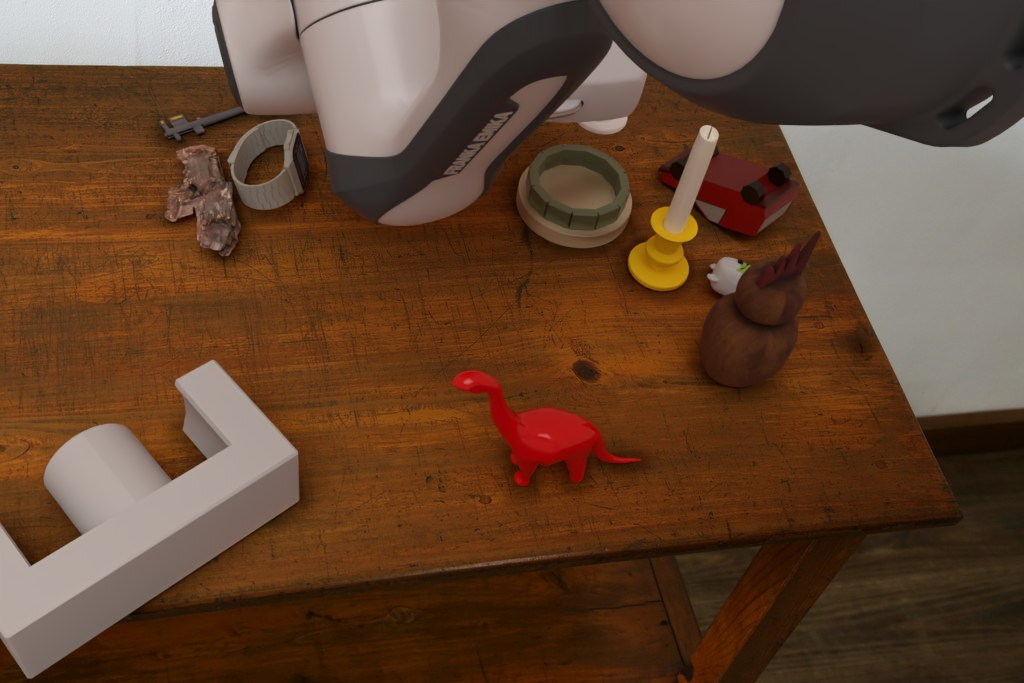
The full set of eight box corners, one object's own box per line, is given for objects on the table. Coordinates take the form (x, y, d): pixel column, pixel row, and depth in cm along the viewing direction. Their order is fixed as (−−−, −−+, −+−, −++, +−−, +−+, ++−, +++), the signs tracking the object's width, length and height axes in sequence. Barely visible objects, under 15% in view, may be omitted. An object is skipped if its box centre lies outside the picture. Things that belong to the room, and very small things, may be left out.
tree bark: (221, 154, 88) (219, 131, 86) (249, 259, 82) (247, 237, 80) (152, 162, 86) (148, 139, 84) (175, 270, 80) (171, 248, 78)
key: (281, 77, 94) (299, 99, 92) (281, 86, 94) (299, 108, 93) (154, 118, 88) (172, 142, 87) (156, 127, 89) (173, 151, 88)
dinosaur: (646, 485, 74) (695, 387, 65) (439, 503, 71) (457, 403, 61) (633, 438, 76) (678, 337, 67) (432, 454, 73) (449, 349, 64)
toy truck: (654, 157, 92) (656, 207, 95) (762, 191, 85) (761, 245, 88) (696, 132, 95) (697, 182, 98) (804, 164, 88) (801, 216, 90)
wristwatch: (299, 224, 84) (298, 179, 80) (220, 215, 84) (215, 169, 80) (314, 148, 90) (314, 103, 86) (241, 139, 89) (237, 93, 85)
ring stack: (651, 225, 90) (660, 198, 88) (559, 264, 86) (566, 237, 83) (584, 153, 95) (591, 125, 92) (493, 187, 90) (498, 159, 88)
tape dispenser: (29, 681, 60) (5, 638, 55) (-48, 566, 63) (-77, 517, 59) (300, 500, 69) (299, 451, 65) (220, 410, 73) (213, 357, 68)
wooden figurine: (760, 338, 84) (831, 208, 72) (780, 396, 81) (858, 270, 69) (681, 339, 83) (740, 208, 71) (699, 399, 80) (763, 271, 68)
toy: (883, 345, 79) (706, 260, 83) (864, 378, 81) (691, 293, 84) (891, 316, 85) (725, 237, 88) (873, 347, 86) (710, 269, 90)
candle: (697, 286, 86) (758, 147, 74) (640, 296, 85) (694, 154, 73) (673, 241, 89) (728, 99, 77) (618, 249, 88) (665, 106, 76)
